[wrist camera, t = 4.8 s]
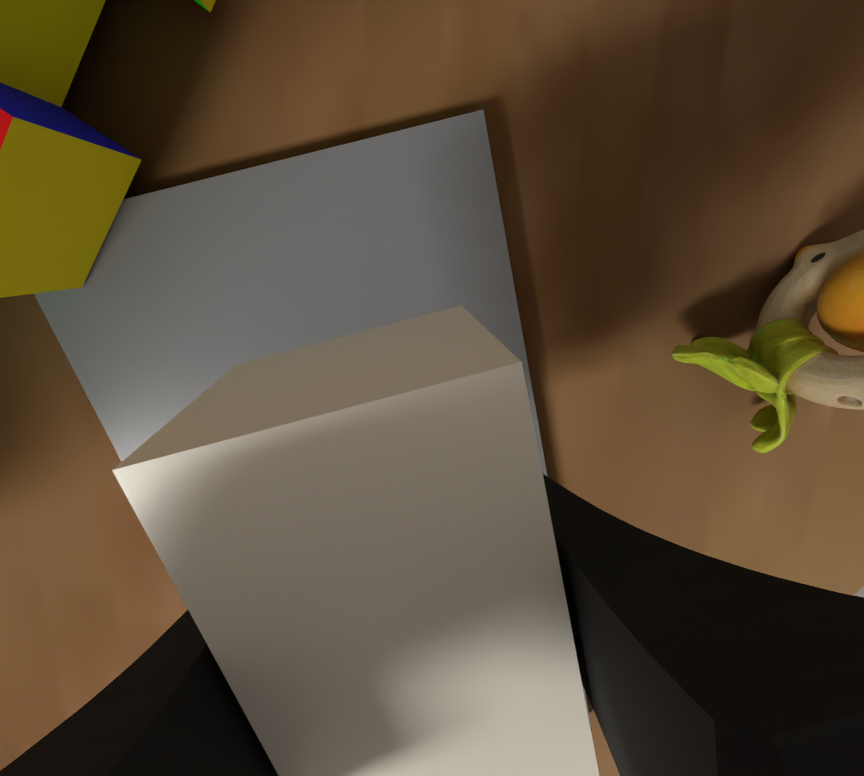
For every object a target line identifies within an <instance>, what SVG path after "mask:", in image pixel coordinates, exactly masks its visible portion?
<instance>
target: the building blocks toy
mask: <svg viewBox="0 0 864 776" xmlns="http://www.w3.org/2000/svg"><path fill="white" fill-rule="evenodd" d="M105 1H106V0H0V298H3V297H11V296H19V295H27V294H35V293H42V292H50V291H58V290H66V289H74V288H82V286H83V284H84V282H85V280H86V278H87V276H88V274H89V271H90V269H91V267H92V265H93V263H94V261H95V259H96V256H97V254H98V252H99V250H100V248H101V246H102V244H103V241H104V239H105V237H106V235H107V233H108V231H109V229H110V226H111V224H112V222H113V220H114V218H115V216H116V214H117V212H118V209H119V207H120V205H121V203H122V201H123V199H124V197H125V194H126V192H127V190H128V188H129V186H130V184H131V182H132V179H133V177H134V175H135V173H136V171H137V169H138V167H139V164H140V162H141V159H140V158H138V157H137V156H135V155H134V154H132V153H131V152H129V151H128V150H126V149H125V148H123V147H121V146H120V145H118V144H117V143H115V142H114V141H112V140H111V139H109V138H108V137H106V136H105V135H103V134H102V133H100V132H98V131H97V130H95V129H94V128H92V127H91V126H89V125H88V124H86V123H85V122H83V121H82V120H80V119H78V118H77V117H75V116H74V115H72V114H71V113H69V112H68V111H66V110H65V109H63V108H62V104H63V102H64V99H65V97H66V95H67V92H68V90H69V87H70V85H71V82H72V80H73V78H74V75H75V73H76V70H77V68H78V66H79V63H80V61H81V58H82V56H83V54H84V51H85V49H86V46H87V44H88V42H89V39H90V37H91V34H92V32H93V30H94V27H95V25H96V22H97V20H98V18H99V15H100V13H101V10H102V8H103V5H104V3H105ZM194 1H195V2H197V3H198V4H199V5H201V6H202V7H203V8H205V9H206V10H207V11H209V12H211V10H212V8H213V6H214V3H215V1H216V0H194Z"/></svg>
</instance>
